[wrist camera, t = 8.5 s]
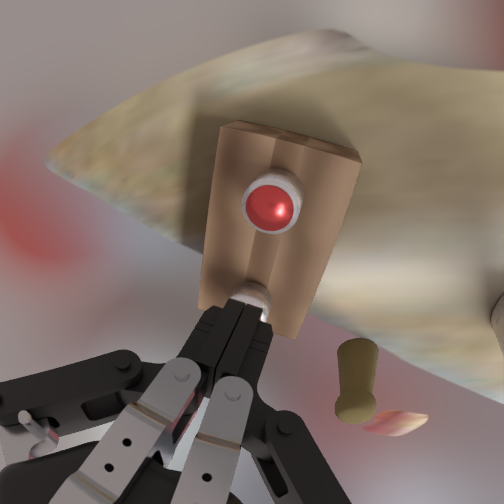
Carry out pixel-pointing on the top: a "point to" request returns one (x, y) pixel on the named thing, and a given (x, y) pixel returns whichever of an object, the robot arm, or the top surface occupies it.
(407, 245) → the top surface
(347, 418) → the cork
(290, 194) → the knob
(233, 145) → the console
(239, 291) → the knob
